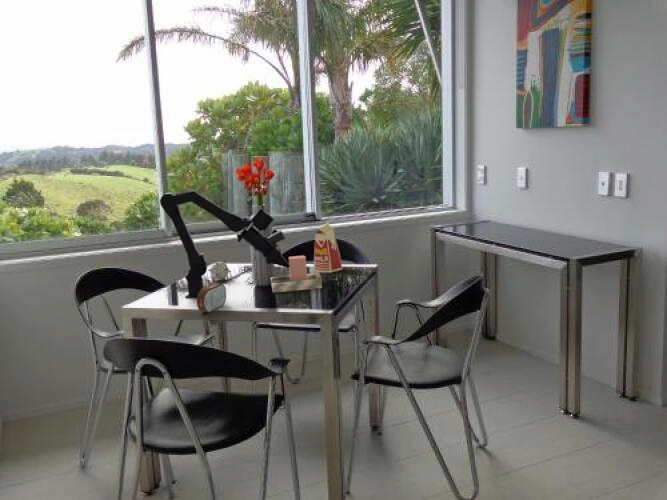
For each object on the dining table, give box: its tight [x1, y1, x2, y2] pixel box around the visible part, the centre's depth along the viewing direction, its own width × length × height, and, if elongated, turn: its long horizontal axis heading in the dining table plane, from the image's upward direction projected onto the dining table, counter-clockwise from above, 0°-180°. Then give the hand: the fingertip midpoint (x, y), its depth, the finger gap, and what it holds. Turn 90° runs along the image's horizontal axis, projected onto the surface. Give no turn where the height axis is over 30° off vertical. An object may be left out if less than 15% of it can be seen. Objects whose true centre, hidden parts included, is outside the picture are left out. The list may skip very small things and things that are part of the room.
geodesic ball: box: [207, 259, 232, 282], centre depth 270 cm, size 9×8×10 cm
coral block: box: [288, 255, 308, 281], centre depth 249 cm, size 6×5×10 cm
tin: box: [196, 282, 227, 314], centre depth 223 cm, size 15×3×8 cm, turn 159°
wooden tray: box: [270, 271, 323, 294], centre depth 250 cm, size 18×13×4 cm
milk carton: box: [313, 221, 343, 273], centre depth 275 cm, size 9×9×20 cm
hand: (288, 266), depth 248 cm, fingers closed, pressing on coral block
